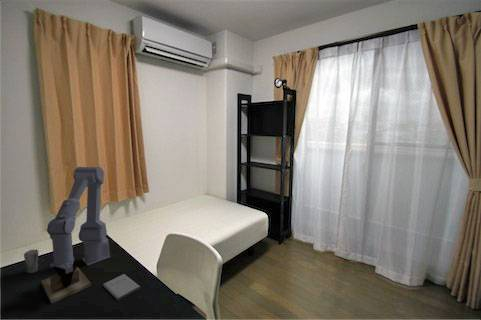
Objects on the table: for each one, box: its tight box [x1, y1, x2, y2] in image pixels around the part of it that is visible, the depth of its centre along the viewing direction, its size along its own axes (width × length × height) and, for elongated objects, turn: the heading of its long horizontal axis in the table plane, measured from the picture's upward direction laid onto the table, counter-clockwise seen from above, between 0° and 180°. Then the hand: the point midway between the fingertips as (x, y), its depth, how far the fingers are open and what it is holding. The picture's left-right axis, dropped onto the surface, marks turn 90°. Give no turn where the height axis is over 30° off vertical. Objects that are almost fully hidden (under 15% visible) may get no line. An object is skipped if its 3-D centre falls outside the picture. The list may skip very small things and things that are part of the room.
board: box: [41, 266, 92, 304], centre depth 87 cm, size 12×16×1 cm
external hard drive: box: [102, 273, 141, 301], centre depth 86 cm, size 2×8×12 cm
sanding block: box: [49, 267, 79, 292], centre depth 85 cm, size 8×4×4 cm, turn 141°
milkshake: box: [23, 249, 39, 274], centre depth 94 cm, size 4×5×10 cm
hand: (65, 282), depth 85 cm, fingers closed on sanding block, 4 cm apart
